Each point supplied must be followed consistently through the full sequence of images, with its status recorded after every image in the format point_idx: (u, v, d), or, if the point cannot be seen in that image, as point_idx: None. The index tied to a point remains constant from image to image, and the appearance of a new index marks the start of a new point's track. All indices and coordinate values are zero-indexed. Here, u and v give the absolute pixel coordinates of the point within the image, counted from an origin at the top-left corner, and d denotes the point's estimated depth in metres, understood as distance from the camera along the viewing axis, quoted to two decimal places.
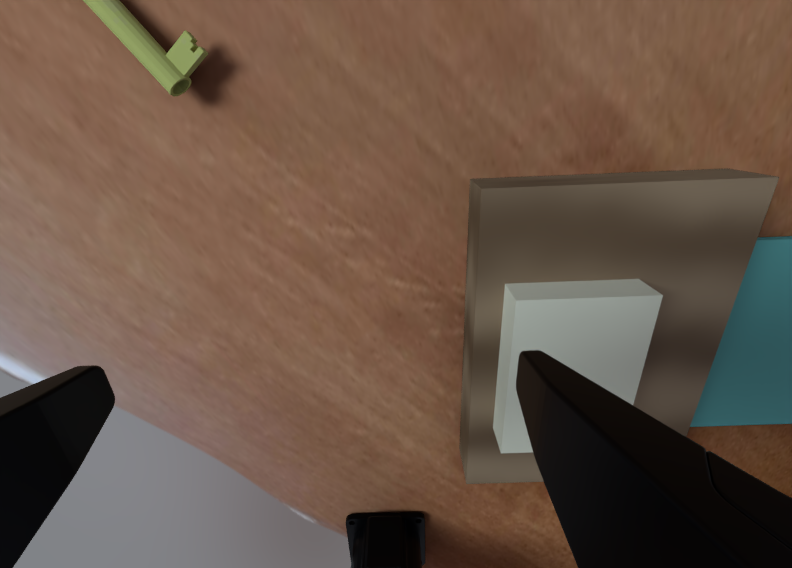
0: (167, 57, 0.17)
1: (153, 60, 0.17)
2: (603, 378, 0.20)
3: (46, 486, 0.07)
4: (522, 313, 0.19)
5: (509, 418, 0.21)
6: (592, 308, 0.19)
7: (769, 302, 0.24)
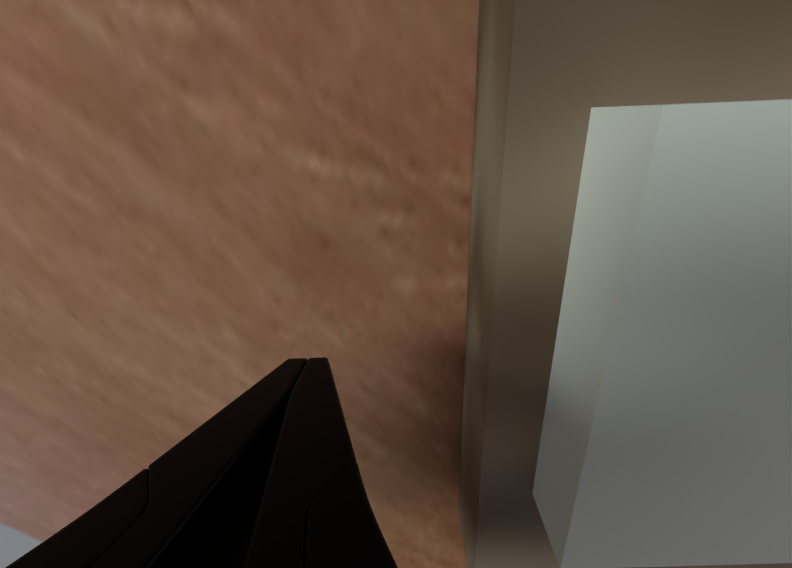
0: None
1: None
2: None
3: None
4: (677, 161, 0.05)
5: (589, 491, 0.08)
6: None
7: None
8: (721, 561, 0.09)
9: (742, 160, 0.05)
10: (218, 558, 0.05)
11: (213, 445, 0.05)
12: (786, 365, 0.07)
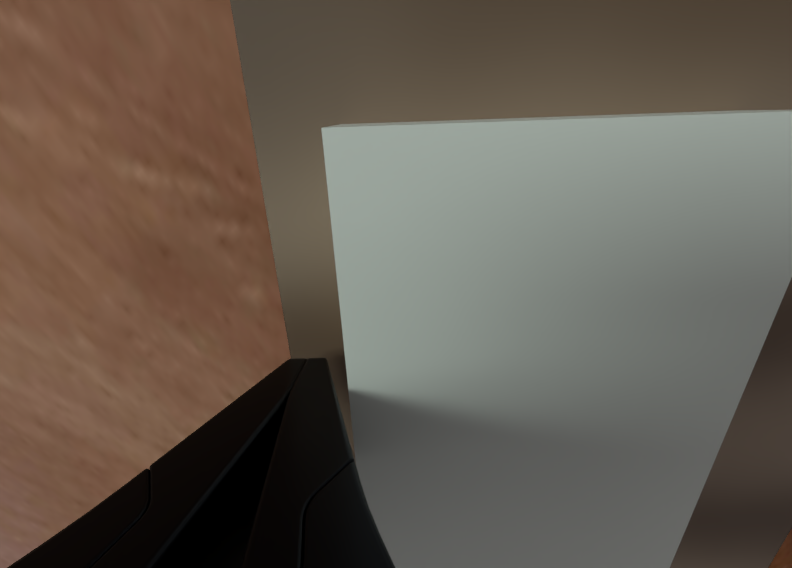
0: None
1: None
2: (630, 405, 0.07)
3: None
4: (354, 182, 0.05)
5: (372, 507, 0.08)
6: (601, 164, 0.05)
7: None
8: None
9: (418, 182, 0.05)
10: (219, 558, 0.05)
11: (214, 445, 0.05)
12: (529, 383, 0.07)
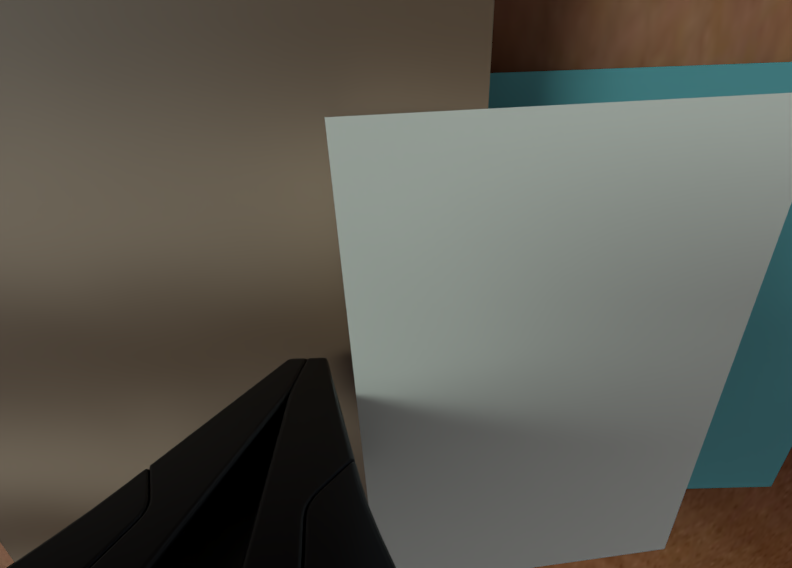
0: None
1: None
2: (630, 384, 0.07)
3: None
4: (359, 174, 0.05)
5: (382, 510, 0.08)
6: (601, 149, 0.05)
7: None
8: (536, 563, 0.09)
9: (425, 172, 0.05)
10: (219, 558, 0.05)
11: (214, 445, 0.05)
12: (536, 371, 0.07)
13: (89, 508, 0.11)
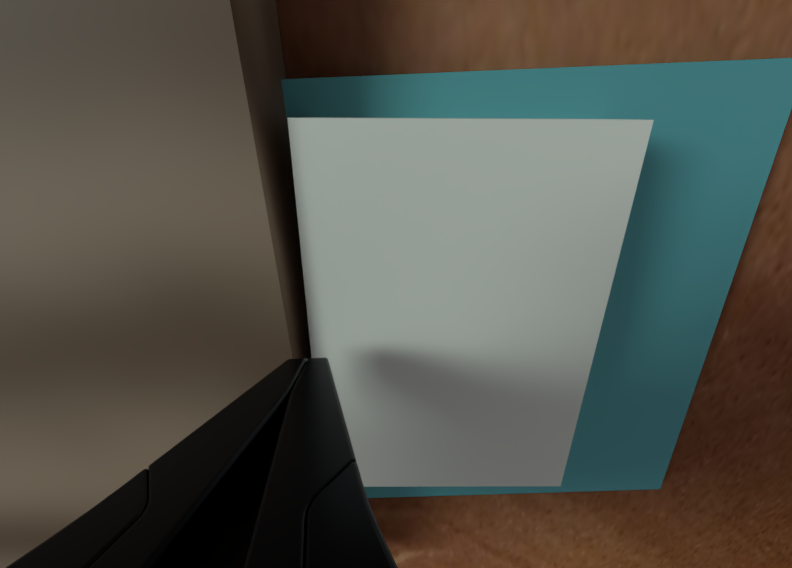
0: None
1: None
2: (518, 335, 0.09)
3: None
4: (310, 157, 0.08)
5: None
6: (481, 151, 0.08)
7: None
8: (452, 483, 0.11)
9: (355, 159, 0.08)
10: (218, 558, 0.05)
11: (213, 445, 0.05)
12: (442, 315, 0.09)
13: None
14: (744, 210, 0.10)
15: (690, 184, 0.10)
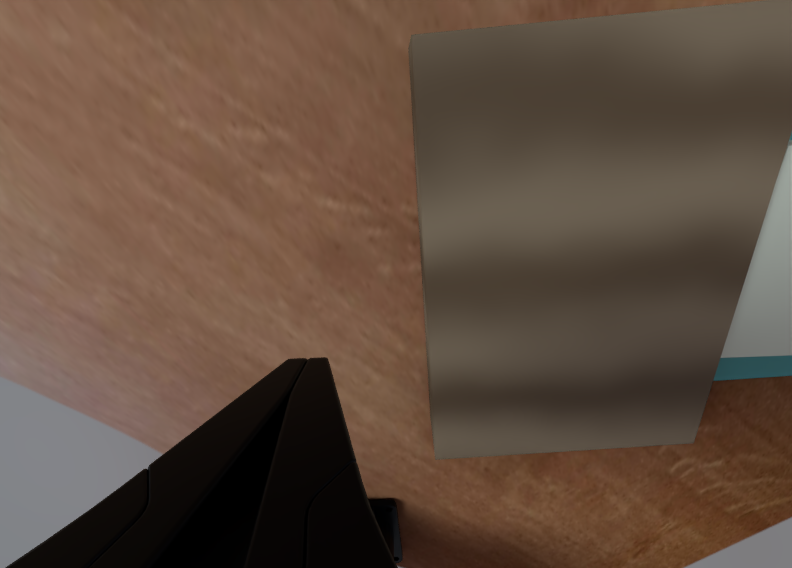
0: None
1: None
2: None
3: None
4: (791, 164, 0.15)
5: (735, 310, 0.18)
6: None
7: None
8: (789, 353, 0.19)
9: None
10: (218, 558, 0.05)
11: (213, 445, 0.05)
12: None
13: (495, 380, 0.19)
14: None
15: None
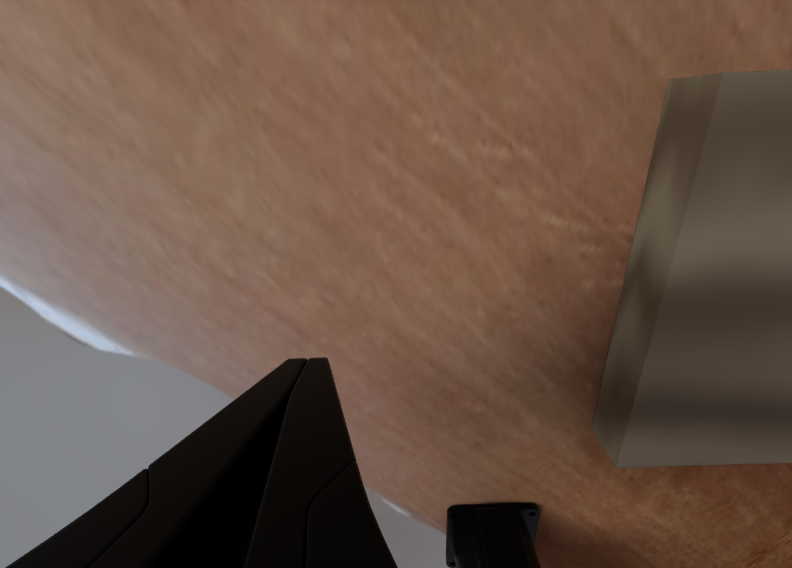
0: None
1: None
2: None
3: None
4: None
5: None
6: None
7: None
8: None
9: None
10: (218, 558, 0.05)
11: (213, 445, 0.05)
12: None
13: (696, 395, 0.20)
14: None
15: None
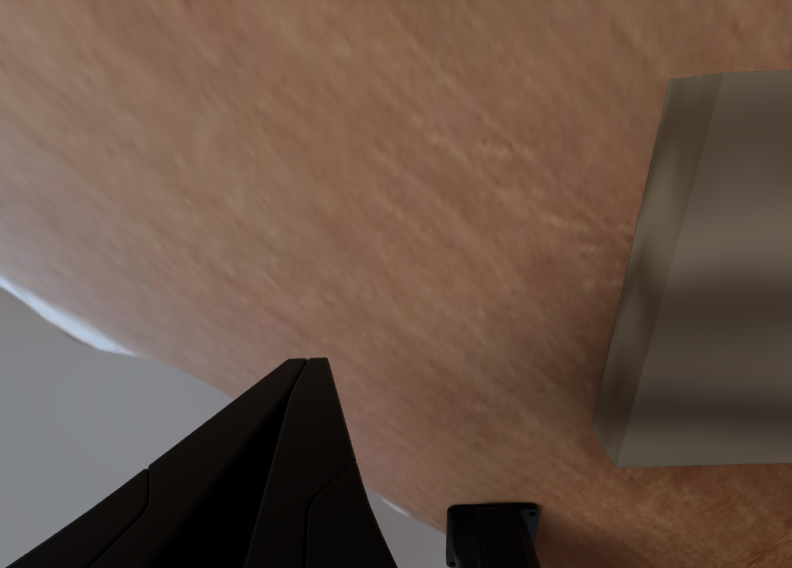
0: None
1: None
2: None
3: None
4: None
5: None
6: None
7: None
8: None
9: None
10: (218, 558, 0.05)
11: (213, 445, 0.05)
12: None
13: (696, 395, 0.20)
14: None
15: None
